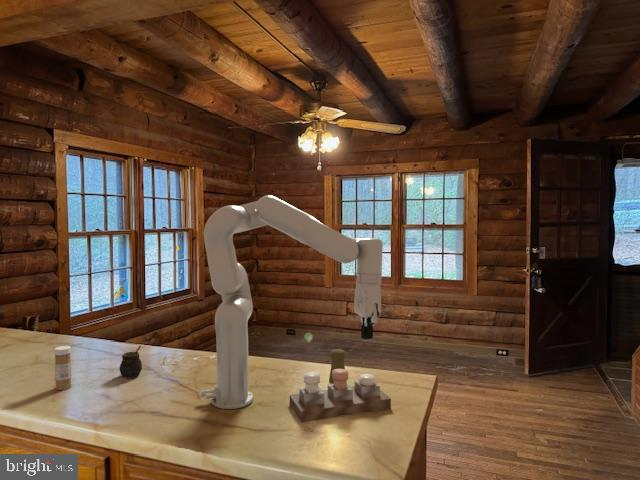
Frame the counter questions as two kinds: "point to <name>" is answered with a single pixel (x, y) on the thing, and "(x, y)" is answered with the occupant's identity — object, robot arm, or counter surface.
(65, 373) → the sprinkles bottle
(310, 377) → the button near
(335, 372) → the button middle
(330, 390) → the button board
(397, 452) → the counter surface
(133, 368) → the mate gourd
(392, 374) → the counter surface
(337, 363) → the cork
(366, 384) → the button far
